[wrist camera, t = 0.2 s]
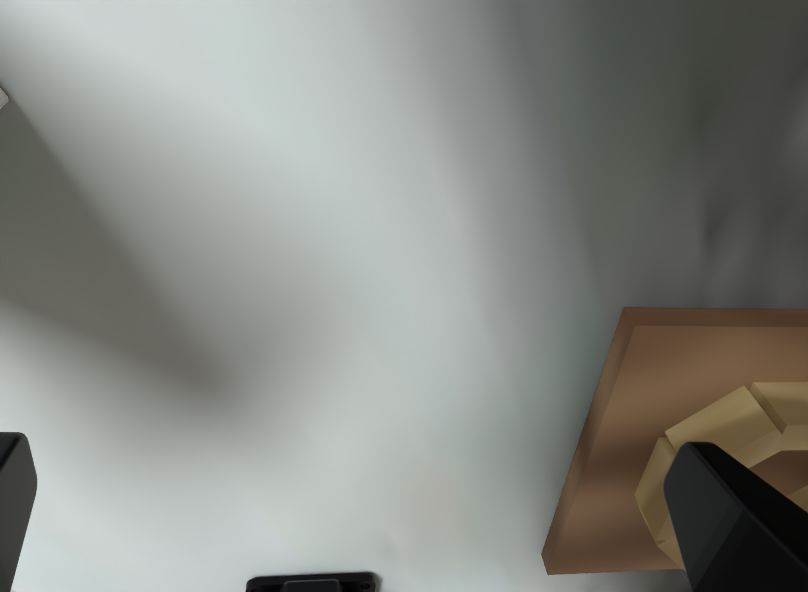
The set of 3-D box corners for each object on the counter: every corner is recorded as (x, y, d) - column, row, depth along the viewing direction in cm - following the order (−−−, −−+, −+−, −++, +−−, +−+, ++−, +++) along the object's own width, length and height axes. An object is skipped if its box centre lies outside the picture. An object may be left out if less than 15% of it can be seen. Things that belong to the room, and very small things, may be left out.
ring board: (815, 543, 38) (858, 605, 35) (541, 554, 36) (562, 621, 33) (975, 312, 29) (1052, 368, 26) (623, 307, 27) (662, 368, 24)
